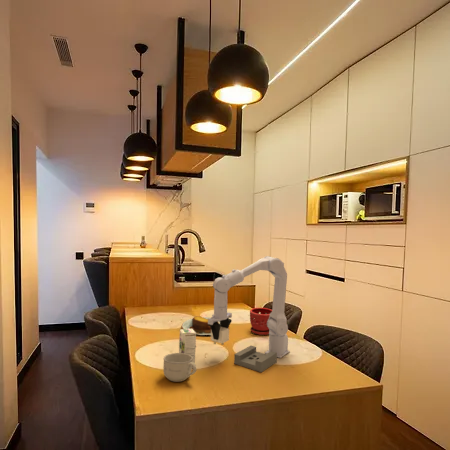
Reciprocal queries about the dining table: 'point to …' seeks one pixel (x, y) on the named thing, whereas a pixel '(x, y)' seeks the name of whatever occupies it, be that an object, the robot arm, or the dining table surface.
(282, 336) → the robot arm
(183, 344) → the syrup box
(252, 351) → the socket
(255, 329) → the plant pot
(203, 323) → the food on plate
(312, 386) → the dining table surface
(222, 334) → the cream cube
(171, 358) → the teacup
